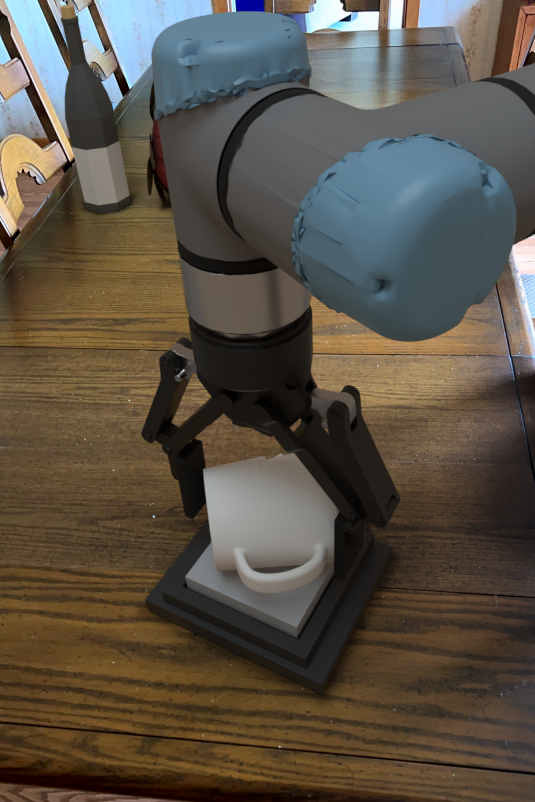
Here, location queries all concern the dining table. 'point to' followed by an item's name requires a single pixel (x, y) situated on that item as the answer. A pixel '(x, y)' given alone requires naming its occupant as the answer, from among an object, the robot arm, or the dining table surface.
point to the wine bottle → (92, 128)
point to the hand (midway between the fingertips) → (268, 535)
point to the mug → (269, 521)
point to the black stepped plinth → (267, 646)
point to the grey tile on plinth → (259, 594)
